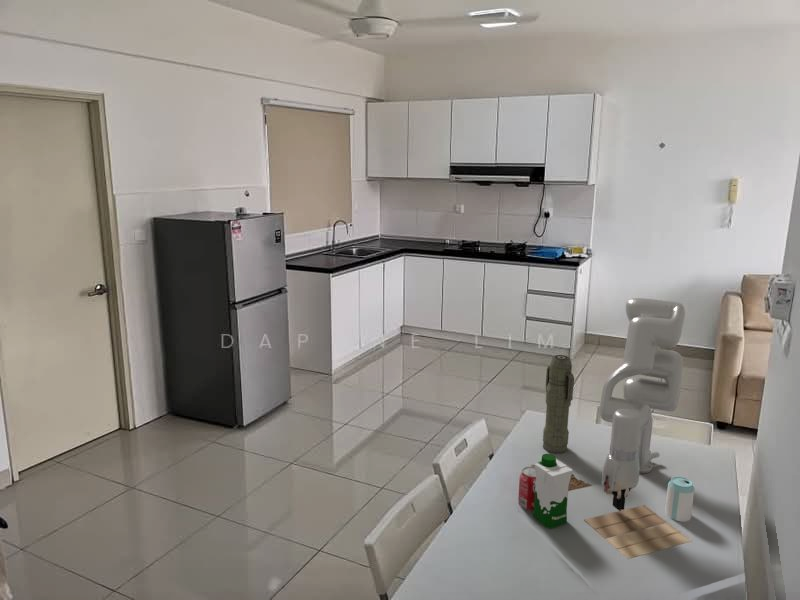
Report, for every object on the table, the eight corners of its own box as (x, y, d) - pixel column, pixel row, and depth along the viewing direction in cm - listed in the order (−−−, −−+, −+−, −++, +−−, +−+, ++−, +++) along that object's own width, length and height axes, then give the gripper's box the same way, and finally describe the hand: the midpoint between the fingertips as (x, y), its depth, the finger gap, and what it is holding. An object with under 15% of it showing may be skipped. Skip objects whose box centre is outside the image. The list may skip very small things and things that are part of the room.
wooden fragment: (606, 493, 193) (606, 490, 193) (583, 504, 187) (583, 501, 187) (544, 460, 214) (545, 458, 214) (522, 469, 208) (522, 466, 208)
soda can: (543, 504, 186) (546, 468, 184) (538, 516, 180) (541, 479, 177) (521, 498, 189) (523, 463, 187) (515, 510, 183) (517, 474, 180)
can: (670, 508, 185) (674, 472, 182) (694, 518, 180) (699, 481, 177) (660, 517, 180) (664, 481, 177) (684, 528, 175) (689, 490, 172)
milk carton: (550, 511, 183) (555, 450, 178) (572, 527, 175) (577, 463, 170) (527, 518, 179) (531, 456, 174) (548, 535, 171) (553, 470, 166)
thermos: (560, 457, 215) (567, 364, 207) (534, 445, 224) (540, 355, 216) (575, 450, 221) (583, 359, 212) (549, 438, 230) (556, 350, 222)
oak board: (667, 526, 176) (667, 522, 175) (691, 544, 167) (692, 540, 167) (605, 542, 168) (605, 538, 168) (627, 562, 160) (628, 558, 159)
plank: (644, 508, 184) (644, 504, 184) (666, 525, 176) (666, 521, 176) (583, 523, 176) (584, 519, 176) (604, 542, 168) (604, 537, 168)
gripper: (635, 441, 181) (629, 495, 185) (593, 450, 175) (589, 506, 180) (653, 453, 174) (647, 509, 179) (611, 463, 169) (605, 520, 173)
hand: (618, 507), depth 179 cm, fingers closed
